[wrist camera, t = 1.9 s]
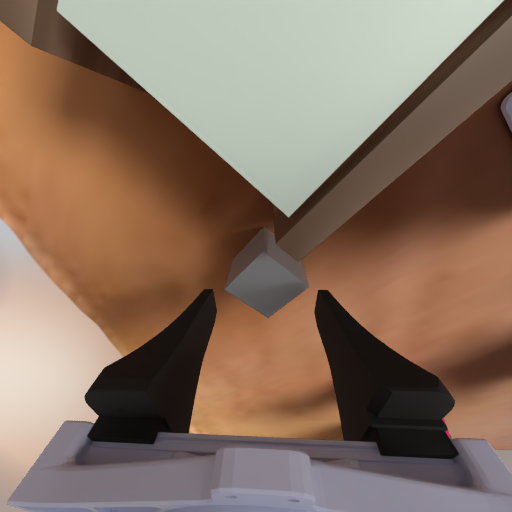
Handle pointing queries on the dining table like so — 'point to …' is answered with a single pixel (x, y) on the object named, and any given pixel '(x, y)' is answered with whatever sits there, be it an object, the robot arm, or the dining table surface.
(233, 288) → the grey cube
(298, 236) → the frame
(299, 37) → the trapdoor
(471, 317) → the dining table surface
